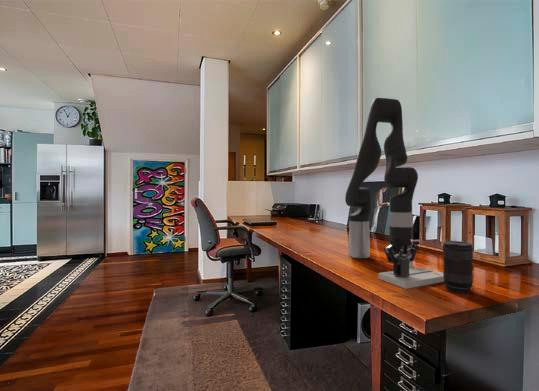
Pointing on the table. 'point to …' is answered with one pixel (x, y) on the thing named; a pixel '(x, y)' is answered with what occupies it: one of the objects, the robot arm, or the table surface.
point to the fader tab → (404, 267)
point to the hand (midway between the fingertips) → (401, 274)
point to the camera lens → (458, 266)
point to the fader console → (413, 277)
